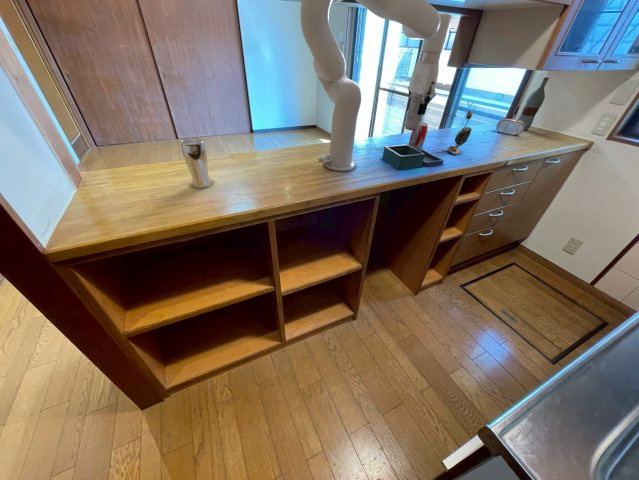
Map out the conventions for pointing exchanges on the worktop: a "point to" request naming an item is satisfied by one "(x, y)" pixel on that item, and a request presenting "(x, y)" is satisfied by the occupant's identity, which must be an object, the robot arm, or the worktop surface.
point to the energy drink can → (414, 113)
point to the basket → (403, 156)
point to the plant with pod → (461, 136)
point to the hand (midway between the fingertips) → (415, 111)
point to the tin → (510, 126)
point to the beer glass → (196, 161)
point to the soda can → (418, 136)
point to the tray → (431, 159)
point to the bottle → (533, 105)
